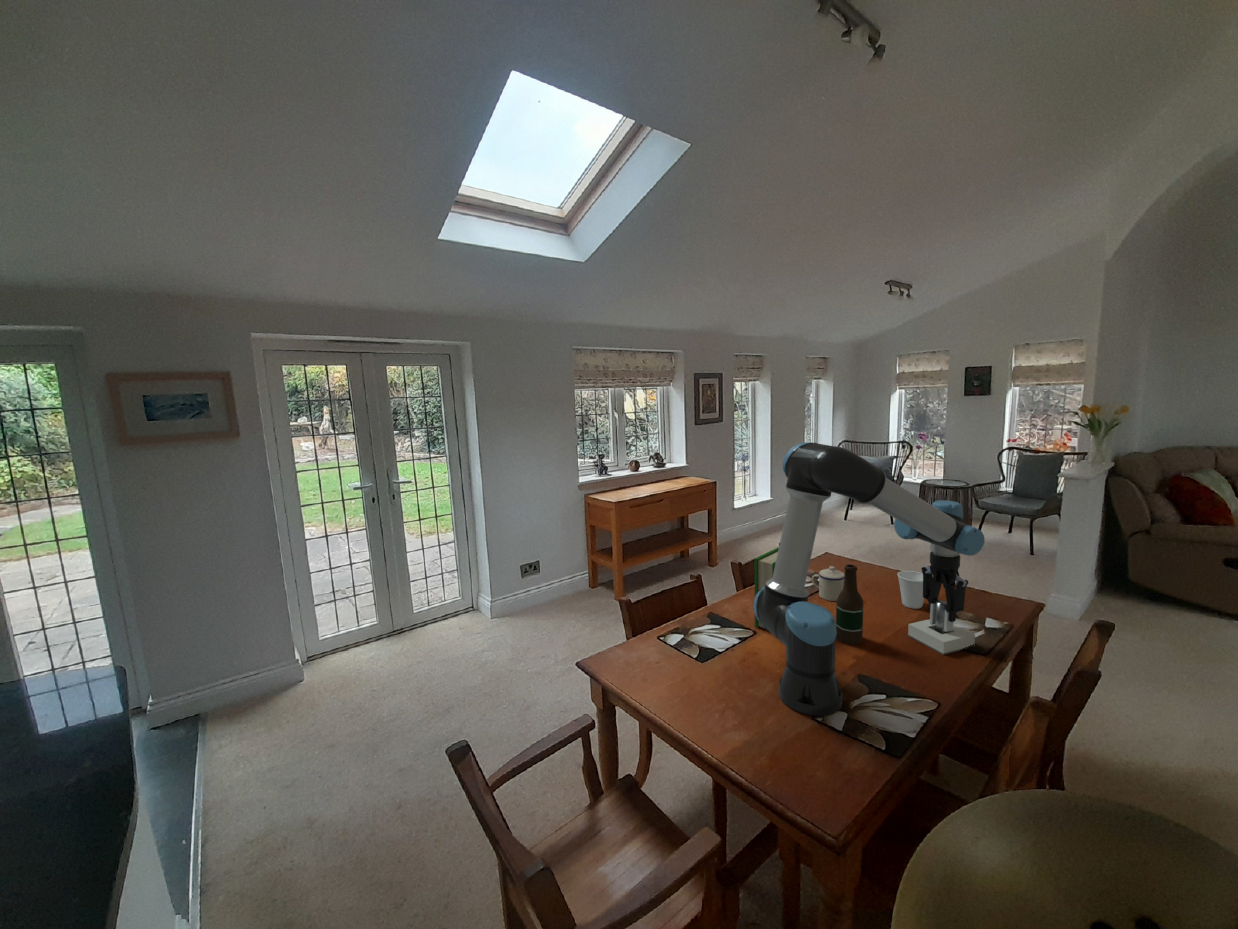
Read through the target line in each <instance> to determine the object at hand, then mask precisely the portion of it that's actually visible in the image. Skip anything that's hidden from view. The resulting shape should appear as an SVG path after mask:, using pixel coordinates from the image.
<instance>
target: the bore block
mask: <svg viewBox="0 0 1238 929" xmlns="http://www.w3.org/2000/svg"><path fill="white" fill-rule="evenodd" d="M907 626H908V627H907V629H908V631H907V633H908V634H907V637H909V638H910V639H913V640H915V641H916V642H918V643H920V644H922V645H924V646H925V647H928V648H929V649H932V650H933V651H935V652H936V653H939V654H940V655H942V656H944V655H949V654H952V653H956V652H960V650H961V651H963V650H962V649H964V648H965V647H968V646H970V645H973V644H974V645H975V642H976V641H975V639H976V634H975V633H973V632H970V631H968V630H966V629H964V628H962V627H960V626H958V625H956V624H953V630H952V631H948V633H946V634H940V633H938V632H936V631H935V624H933V625H931V624H930V618H929V619H925V620H919V621H916V622H912V623H908V625H907Z"/></svg>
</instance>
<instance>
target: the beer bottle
mask: <svg viewBox="0 0 1238 929" xmlns="http://www.w3.org/2000/svg"><path fill="white" fill-rule="evenodd" d="M843 569H844V574H845V577H844V587H843V590H842V591H841V592H840V594H839V596H838V599H837V601H836V607H835V608H836V609H835V610H836V612H835V622H836V631H837V635H836V640H838V641H839V642H840V643H842V644H846V645H850V646H854V645H855V646H856V645H860V644H861V643H862V640H863V632H864V631H863V630H864V629H863V628H864V600H863V597H862V595H861V593H860V592H859V590H858V589H859V588H858V582H857V578H858V577H857V571H858V566H856V565H854V564H850V563H849V564H845V565H844V568H843Z"/></svg>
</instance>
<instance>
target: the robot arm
mask: <svg viewBox="0 0 1238 929" xmlns="http://www.w3.org/2000/svg"><path fill="white" fill-rule="evenodd" d="M782 471H783V473H784V475H785V477H786V478H787V480H786V485H785V489H786V491H787V493H788V494H789V499H788V504H787V509H786V513H785V517H784V522H783V525H782V526H783V528H782V531H781V532H782V533H781V537H780V542H779V544H778V545H779V546H778V547H779V550H778V554H777V559H776V564H775V569H774V573H773V577H772V578H771V579H769V580H768V581H766V584H765V587H763V588H762V589H761V591H760V592H758V593H757V594H756V596H755V595H754V599H753V612H754V617H755V616H756V617H757V619H758V620H759V622H760V623H761V624H762V625H763V627H764V628H763V627H762V628H763V629H765V630H767V631H768V632H770V633H771V634H772V635H773V636H774V637H775V639H778V640H779V642H780V643H782V644H783V645H784V646H785V649H786V650H785V668H784V671H783V673H782V677H781V678H780V680H779V682H778V696H779V698H780V699H781V701H782V702H783V703H784V704H785V705H786V706H787V707H788V708H790V709H792V710H794V711H796V712H798V713H801V714H804V715H808V716H813V717H815V716H817V717H822V716H825V717H826V716H830V715H833V714H836V713H837V712H839V711H840V710H841V708H842V707H843V693H842V692H843V691H842V690H841V687H840V683H839V680H838V678H837V675H836V654H837V653H836V651H837V650H836V649H837V646H836V645H837V638H836V635H837V631H836V617H834V614H833V613H832V612H831V611H830V610H829V609H827V608H826V607H825V606H823V605H820V604H815V603H814V602H811V601H808V600H809V596H810V592H809V591H808V589H807V588H806V581H807V576H808V571H809V569H810V563H811V559H812V554H813V549H814V546H815V541H816V540H815V539H816V537H817V536H816V535H817V532H818V527H819V521H820V518H821V513H822V507H823V504H824V502H825V501H827V500H828V499H830V498H831V496H832V493H833V494H837V495H839V496H844V497H847V498H849V499H852V500H854V501H856V502H858V503H860V504H869V505H871V506H872V507H875V508H876V509H878V510H880V511H882V512H883V513H885V514H886V515H888V516H890V517H892V518H894V524H893V525H894V526H893V527H894V530H895V532H896V534H897V536H898V537H899V538H901V539H903V540H916V539H917V540H921V541H924V542H927V543H930V544H929V545H930V547H929V548H930V549H929V550H930V553H929V564H930V565H928V566H927V565H926V566H922V567H921V568H920V569H921V573H923V598H924V600H925V599H926V600H927V602H928V612H929V619H930V624H931V625H933V624H935V612H936V601H937V600H939V596H940V593H941V588H942V587H943V589H944V592H945V593H944V594H945V599H946V600H945V601H947V608H948V609H947V610H945V619H944V631H946V632H947V631H952V630H953V624H954V623H955V622H956V620H957V613H960V612H963V611H964V610H965V601H966V591H967V590H966V589H967V586H968V585H969V581H968V580H967V579H963V578H962V577H961V576H960V573H959V570H960V566H961V556H960V554H962V555H965V556H967V557H968V556H975V555H978V553H980V552H981V550H982V548H983V547H984V545H985V534H984V533H983V531H981V530H980V529H979V528H977V527H974V526H972V525H970V524H965V523H963V519H964V512H963V511H964V510H963V505H962V504H961V503H959V502H957V501H953V500H941V499H940V500H936V501H933V502H932V504H930V503H929V502H928V501H925V500H924V499H922V498H921V497H920V496H919V497H918V496H917V495H915V494H914V493H912V492H910V491H909V490H908V489H905V487H902V486H901V485H900V484H897V483H896V482H894V481H892V480H890V479H889V478H887V476H886V473H885V472H884V471H883V470H882V469H880V468H879V467H877V466H875V465H874V464H873V463H871V462H870V461H868V460H866V459H865V458H863V457H861V456H859V455H858V454H856V453H855V452H853V451H851V450H849V449H846V448H844V447H842V446H841V447H840V446H836V445H828V444H823V443H819V442H800V443H798V444H796V445H794V446H793V447H791V448H790V449H788V451H787V452H786V454H785V456H784V457H783V460H782ZM954 625H955V624H954Z"/></svg>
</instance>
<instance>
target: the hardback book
mask: <svg viewBox="0 0 1238 929" xmlns="http://www.w3.org/2000/svg"><path fill="white" fill-rule="evenodd" d="M778 550H779V546H777V547H776V548H773V549H771V550H769V551H767V552H765V553H763V554H760V555H759V556H757V557H755V558H754V566H753V568H754V597H755V596H756V594H757V593H758V592H760V591H761V589H762V588H763V587H765V584H766V581H768V580H769V579H771V578H772V577H773V573H774V569H775V564H776V559H777V554H778ZM754 628H755V629H759V628H763V629H765V628H764V627H763V625H762V624H761V623H760V622H759V620H758V619H757V617H756V616H755V615H754Z"/></svg>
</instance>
